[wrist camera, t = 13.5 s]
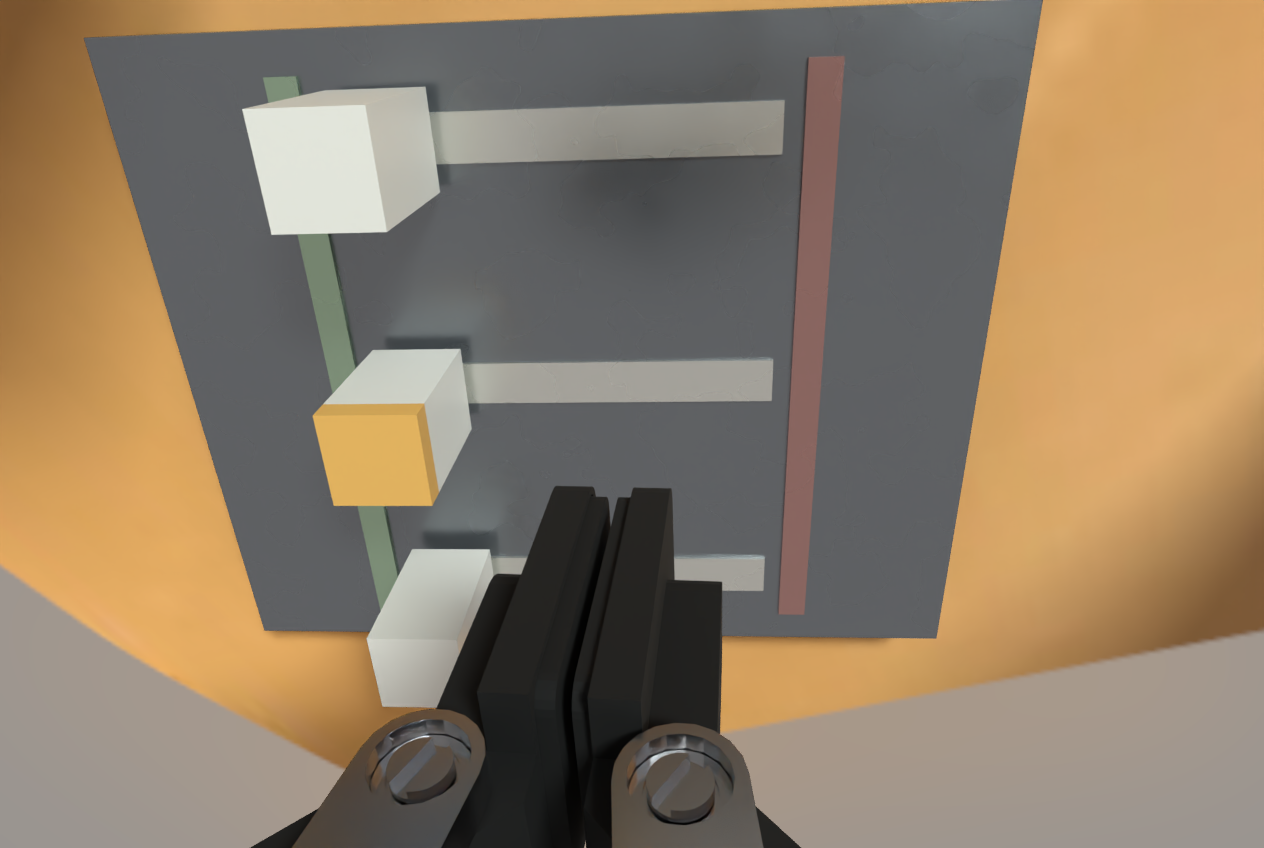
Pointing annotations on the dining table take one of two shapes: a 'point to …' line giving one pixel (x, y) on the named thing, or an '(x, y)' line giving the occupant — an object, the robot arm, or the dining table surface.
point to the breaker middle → (394, 428)
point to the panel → (609, 289)
